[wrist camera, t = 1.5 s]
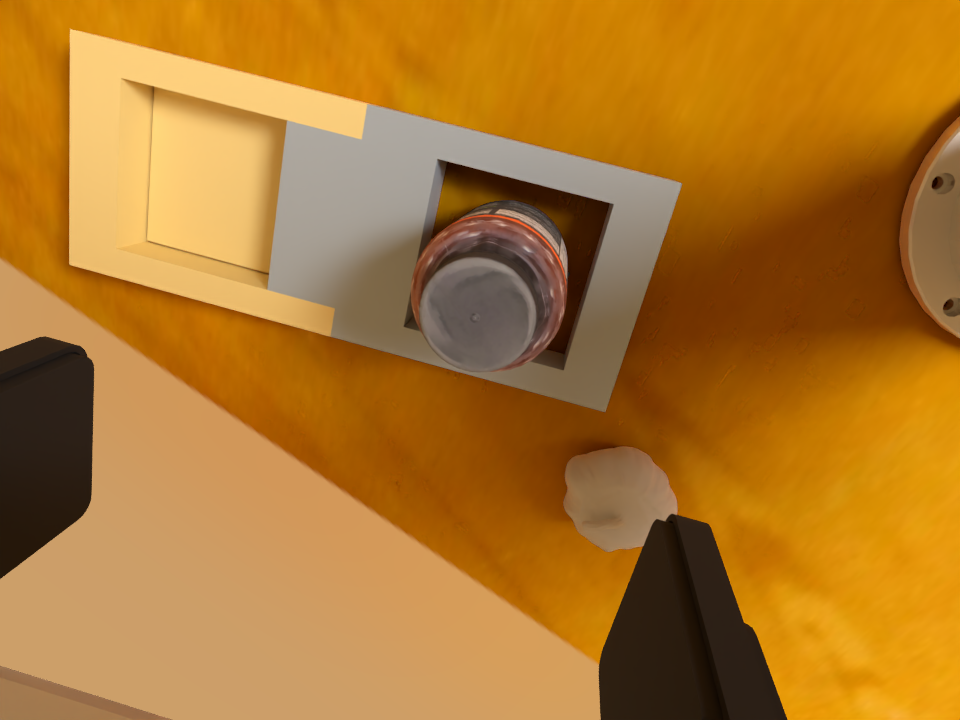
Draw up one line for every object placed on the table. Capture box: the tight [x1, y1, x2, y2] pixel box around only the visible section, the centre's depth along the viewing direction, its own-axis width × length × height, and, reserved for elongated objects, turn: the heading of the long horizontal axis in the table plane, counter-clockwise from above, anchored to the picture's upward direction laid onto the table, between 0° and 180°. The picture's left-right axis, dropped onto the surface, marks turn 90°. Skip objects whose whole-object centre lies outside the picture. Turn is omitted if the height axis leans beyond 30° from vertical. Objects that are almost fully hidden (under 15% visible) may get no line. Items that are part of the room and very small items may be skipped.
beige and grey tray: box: [69, 29, 682, 412], centre depth 31 cm, size 28×11×2 cm, turn 77°
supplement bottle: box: [411, 200, 570, 372], centre depth 26 cm, size 6×6×11 cm
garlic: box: [563, 446, 677, 552], centre depth 32 cm, size 6×5×5 cm
